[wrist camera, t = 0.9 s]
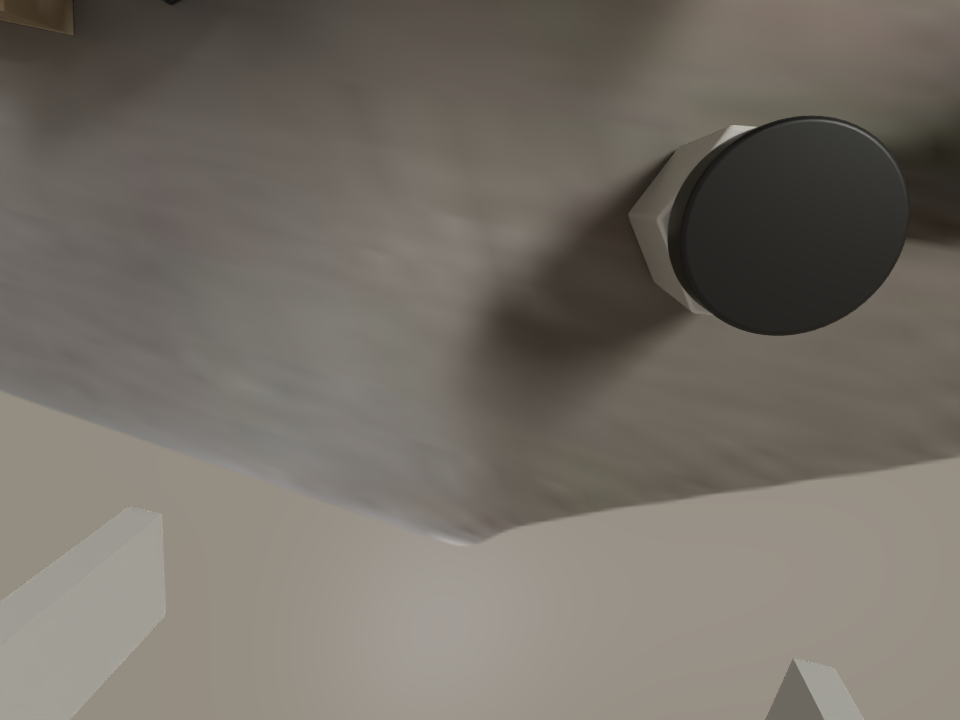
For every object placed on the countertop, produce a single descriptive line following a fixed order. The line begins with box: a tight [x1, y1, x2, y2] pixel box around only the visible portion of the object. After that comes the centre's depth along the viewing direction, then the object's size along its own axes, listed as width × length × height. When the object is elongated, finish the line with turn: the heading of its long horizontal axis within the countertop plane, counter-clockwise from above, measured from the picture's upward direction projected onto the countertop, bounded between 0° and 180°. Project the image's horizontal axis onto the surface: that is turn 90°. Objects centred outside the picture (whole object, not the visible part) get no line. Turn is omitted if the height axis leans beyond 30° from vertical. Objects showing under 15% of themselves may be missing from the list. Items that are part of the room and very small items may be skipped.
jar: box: [628, 116, 910, 336], centre depth 26 cm, size 9×8×12 cm
